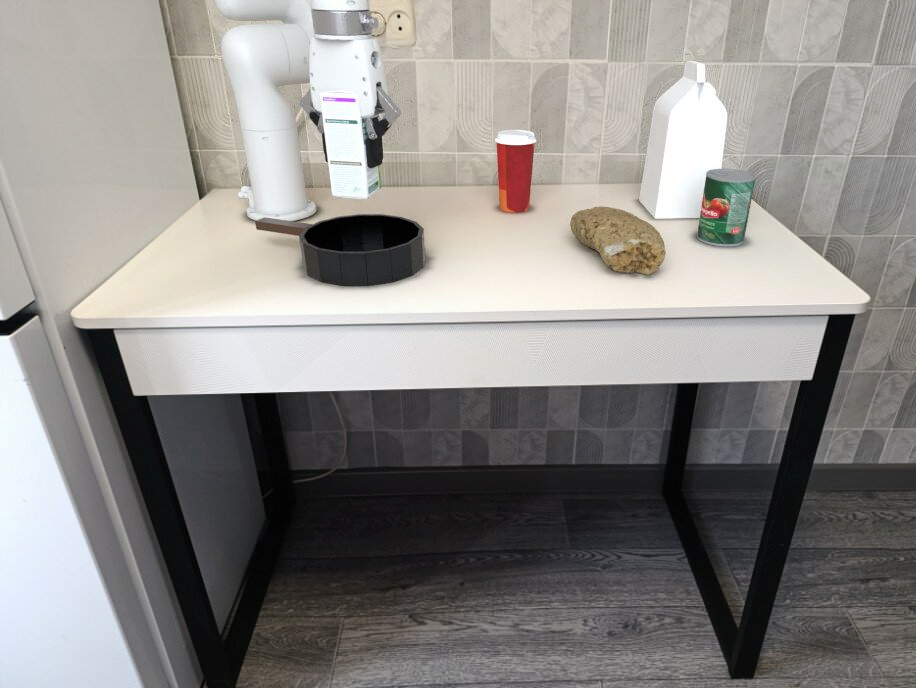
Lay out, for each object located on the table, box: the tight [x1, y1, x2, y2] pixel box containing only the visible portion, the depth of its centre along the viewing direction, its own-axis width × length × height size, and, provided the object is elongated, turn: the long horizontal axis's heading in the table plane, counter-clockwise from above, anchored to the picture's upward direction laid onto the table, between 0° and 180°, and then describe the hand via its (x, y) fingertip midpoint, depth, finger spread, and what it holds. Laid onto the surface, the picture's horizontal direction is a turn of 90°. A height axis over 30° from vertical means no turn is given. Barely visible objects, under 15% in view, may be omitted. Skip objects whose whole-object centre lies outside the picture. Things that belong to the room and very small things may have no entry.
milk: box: [638, 60, 728, 220], centre depth 128 cm, size 12×12×26 cm
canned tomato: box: [696, 168, 757, 248], centre depth 116 cm, size 8×8×11 cm
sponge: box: [569, 206, 667, 276], centre depth 110 cm, size 13×8×20 cm
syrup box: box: [320, 91, 382, 200], centre depth 99 cm, size 6×6×14 cm
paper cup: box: [494, 129, 537, 214], centre depth 130 cm, size 8×8×14 cm
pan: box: [254, 213, 426, 287], centre depth 108 cm, size 28×18×5 cm, turn 68°
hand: (354, 162), depth 101 cm, fingers closed on syrup box, 6 cm apart
